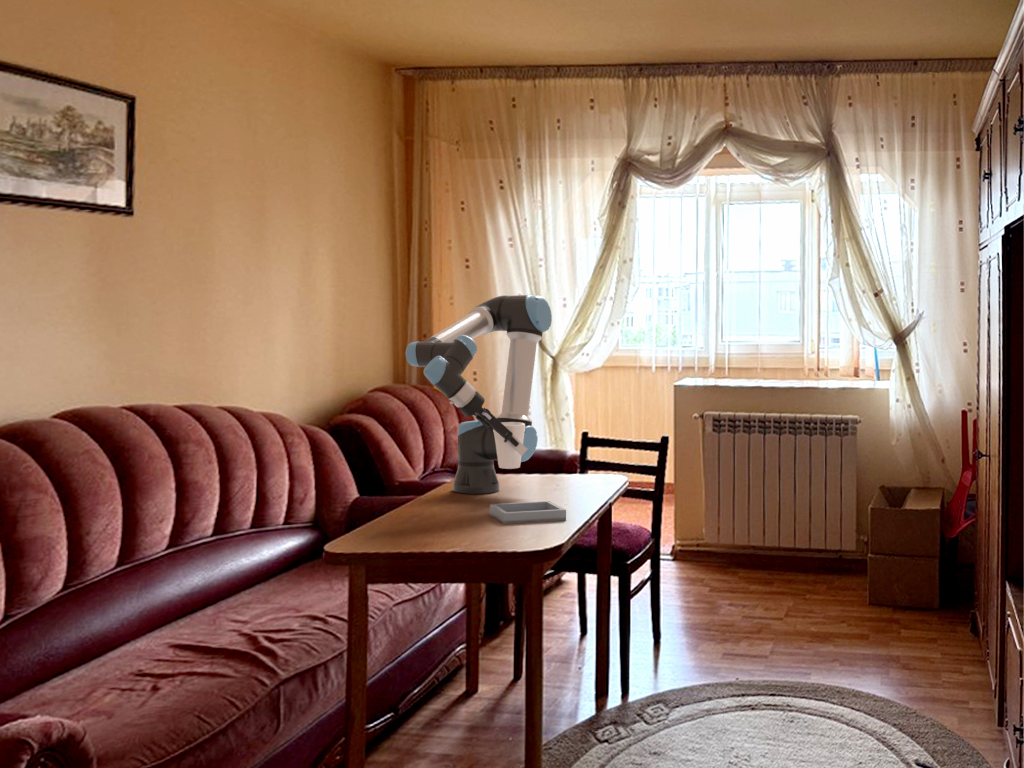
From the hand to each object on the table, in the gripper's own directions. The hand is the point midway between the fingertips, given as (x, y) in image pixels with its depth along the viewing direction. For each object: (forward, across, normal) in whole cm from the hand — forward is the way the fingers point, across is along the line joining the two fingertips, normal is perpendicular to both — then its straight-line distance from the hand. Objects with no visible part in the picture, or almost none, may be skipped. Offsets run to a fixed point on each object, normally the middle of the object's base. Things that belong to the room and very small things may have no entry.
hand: (519, 450), depth 340 cm
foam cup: (+1, 0, -6) cm, 6 cm away
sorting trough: (+10, +18, -14) cm, 25 cm away
